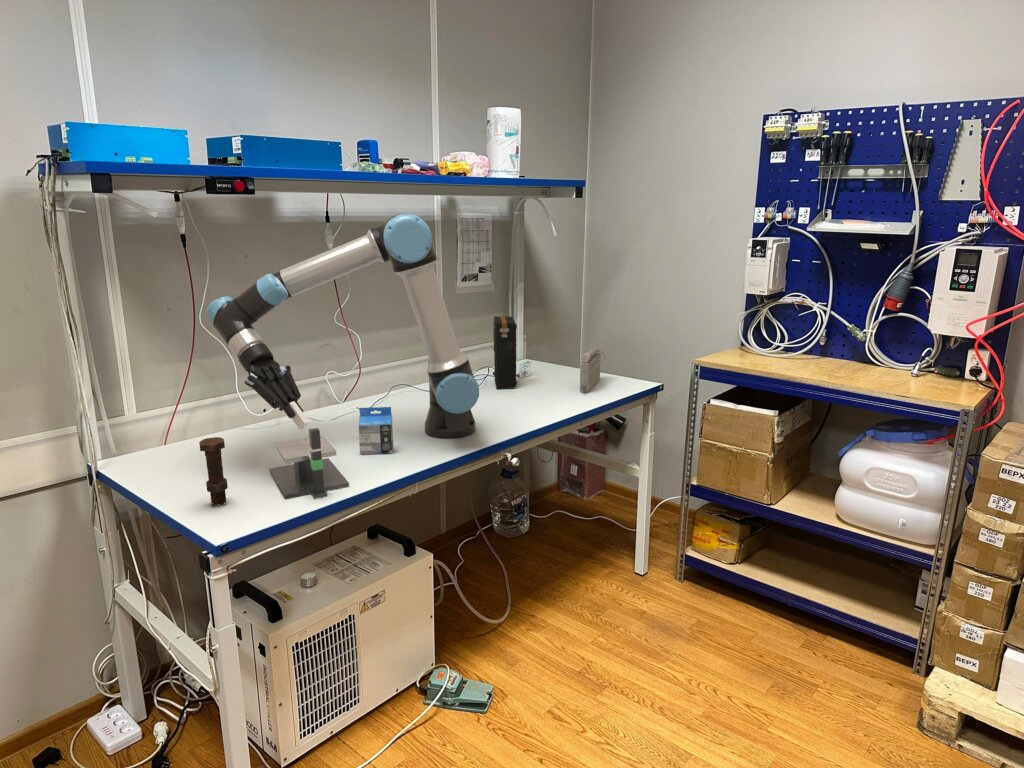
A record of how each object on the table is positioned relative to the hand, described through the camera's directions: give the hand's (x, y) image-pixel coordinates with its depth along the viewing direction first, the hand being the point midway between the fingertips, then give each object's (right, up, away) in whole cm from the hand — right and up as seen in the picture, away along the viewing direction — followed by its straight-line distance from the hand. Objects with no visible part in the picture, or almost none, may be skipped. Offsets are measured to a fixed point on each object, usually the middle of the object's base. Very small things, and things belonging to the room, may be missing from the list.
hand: (304, 425), depth 167 cm
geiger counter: (+79, +8, +87) cm, 118 cm away
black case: (+47, +10, +92) cm, 104 cm away
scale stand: (+1, -14, +2) cm, 14 cm away
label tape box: (+13, -9, +22) cm, 27 cm away
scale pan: (+1, -12, +2) cm, 12 cm away
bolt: (-16, -17, -10) cm, 26 cm away
